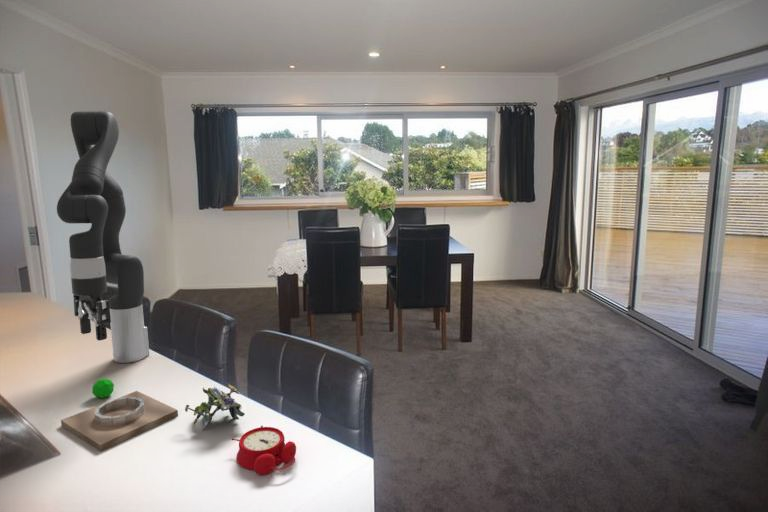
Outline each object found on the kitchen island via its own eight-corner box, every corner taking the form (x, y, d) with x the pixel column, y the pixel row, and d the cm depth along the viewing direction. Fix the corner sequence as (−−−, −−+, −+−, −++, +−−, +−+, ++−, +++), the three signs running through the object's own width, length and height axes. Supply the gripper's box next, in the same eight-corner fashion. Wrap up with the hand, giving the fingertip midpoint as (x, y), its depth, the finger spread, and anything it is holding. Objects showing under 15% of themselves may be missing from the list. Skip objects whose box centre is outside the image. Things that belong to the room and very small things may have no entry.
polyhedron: (115, 398, 123) (113, 381, 122) (93, 402, 121) (91, 385, 120) (114, 390, 127) (112, 374, 127) (93, 395, 125) (91, 378, 124)
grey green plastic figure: (234, 438, 115) (257, 407, 110) (194, 452, 106) (217, 418, 102) (214, 402, 120) (235, 370, 116) (174, 411, 111) (195, 377, 107)
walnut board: (137, 396, 124) (136, 390, 124) (178, 415, 115) (177, 409, 114) (61, 426, 109) (60, 420, 109) (100, 451, 100) (100, 444, 100)
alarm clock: (266, 419, 106) (305, 430, 96) (270, 447, 107) (310, 460, 96) (223, 438, 99) (261, 452, 89) (228, 467, 99) (266, 484, 89)
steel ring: (130, 400, 119) (129, 393, 118) (152, 412, 113) (152, 404, 113) (87, 417, 110) (86, 409, 110) (109, 430, 105) (108, 422, 105)
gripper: (118, 275, 117) (122, 338, 120) (91, 269, 125) (96, 327, 128) (85, 280, 111) (91, 346, 114) (59, 273, 119) (65, 334, 122)
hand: (93, 336), depth 121 cm, fingers open, 8 cm apart
